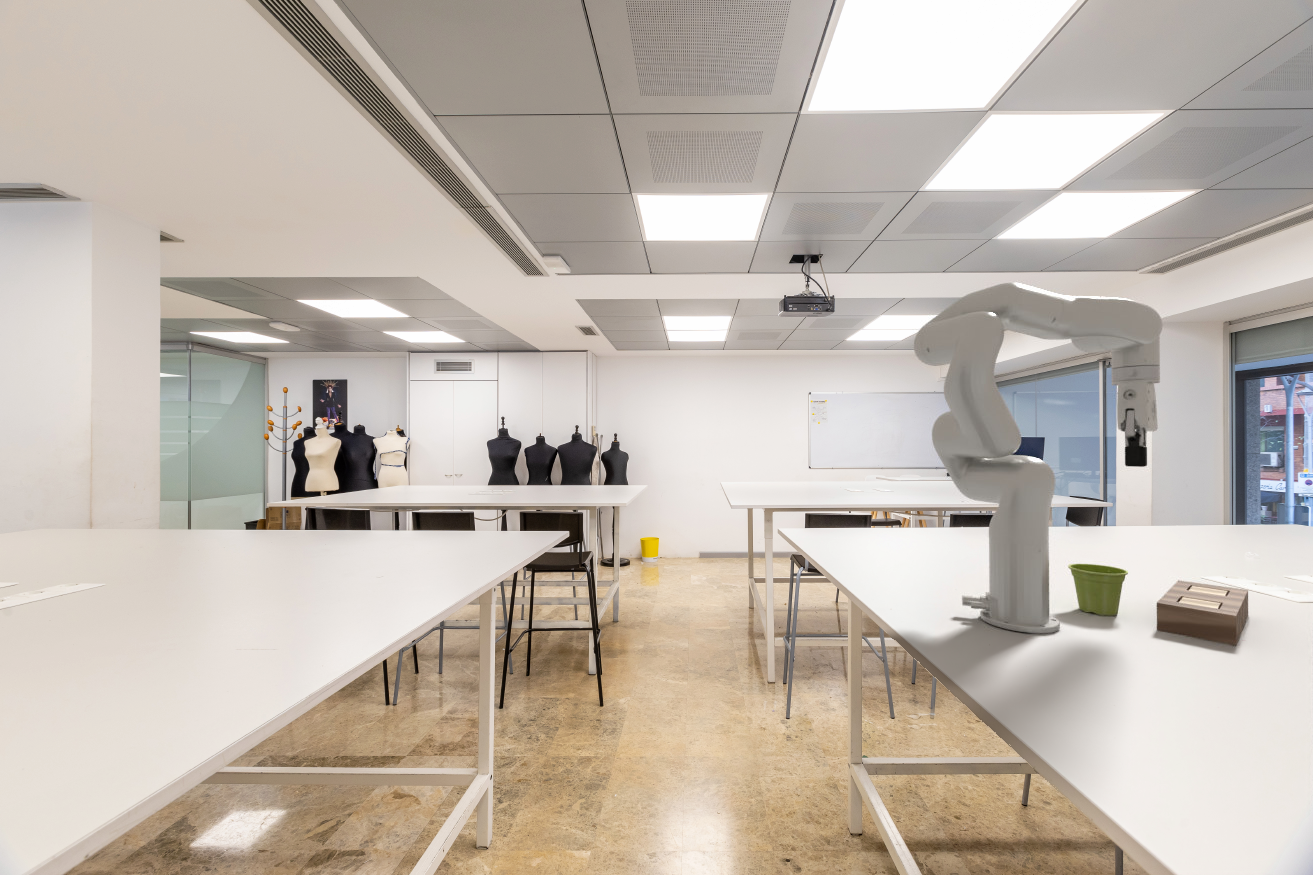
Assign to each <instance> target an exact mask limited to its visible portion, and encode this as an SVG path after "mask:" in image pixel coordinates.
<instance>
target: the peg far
mask: <svg viewBox="0 0 1313 875" xmlns="http://www.w3.org/2000/svg"><path fill="white" fill-rule="evenodd" d="M1189 590H1190V591H1196V592H1203V593H1210V594H1217V595H1223V596H1227V595H1228V591H1224V590H1217V589H1210V588H1203V587H1196V586H1192V587H1191V588H1190V589H1189Z"/></svg>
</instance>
